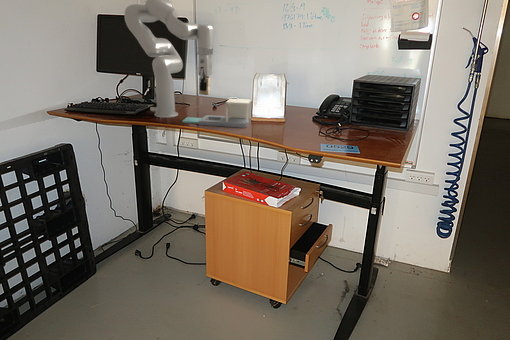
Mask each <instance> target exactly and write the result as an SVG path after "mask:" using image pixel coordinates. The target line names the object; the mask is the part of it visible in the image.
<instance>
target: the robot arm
mask: <svg viewBox="0 0 510 340" xmlns="http://www.w3.org/2000/svg"><path fill="white" fill-rule="evenodd" d="M144 3H145V4H137V3H135V4H130V5H127V7H125V9H124V21H125V24H126V27H127V28H128V30H129V31H130V32H131V33H132V35H133V36H134V37H135V39H136V41H137V42H138V43H139V45H140V47H141V48H142V49H143V51H144V52H145V54H146V55H147V56H148V57H150V58H153V60H152V62H151V65H152V72H153V74H154V80H155V93H156V94H155V95H156V106H155V107H154V106H150V109H149V110H150V111H151V112H154V117H156V118H163V119H165V118H175V117H177V116H179V113H178V112H177V111H176V107H175V106H176V104H175V103H176V102H175V83H174V80H173V77H172V75H171V74H176V73H179V72H181V71H182V70H183V68H184V63H183V60H182V58H181V56H180V54H179V53H178V51H177V50H176V49H175V47H174V45H173V44H172V43H171V41H169V40H168V39H167V38H164V37H156V36H155V35H154V34H153V32H152V31H151V29H150V28H149V27H148V26H147V25H145V23H155V22H157V21H160V22H162V23H163V24H164V25H165V26H166V28H167V30H168V31H169V32H170V33H171V34H173V35H174V36H175V37H177V38H179V39H181V40H184V41H187V40H195V41H196V52H197V53H196V54H197V55H198V63H197V66H198V67H197V68H198V69H197V73H198V76H199V78H200V90H202V91H206V90H207V83H206V77H208V78H210V76H211V75H212V74H213V60H212V59H213V58H212V57H213V56H214V52H213V51H214V49H213V48H214V27H213V25H210V24H201V23H196V22H195V23H193V22H192V23H191V22H183V21H182V20H180V19H178V11H177V9H175V8H173V3H172V1H170V0H146V1H145V2H144ZM203 77H205V79H204V78H203Z"/></svg>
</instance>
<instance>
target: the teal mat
mask: <svg viewBox="0 0 510 340" xmlns="http://www.w3.org/2000/svg"><path fill="white" fill-rule="evenodd" d="M202 118H203V117H191V116H186V118H184V119H183V120H182V121H181V124H182V123H185V124H198V125H199V120H200V119H202Z"/></svg>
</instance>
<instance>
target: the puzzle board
mask: <svg viewBox="0 0 510 340" xmlns="http://www.w3.org/2000/svg"><path fill="white" fill-rule="evenodd" d="M201 118H202V119H200V120H199V124H198V126H211V127H226V128H240V129H241V128H242V129H246V128H247V127H248V126H249V124H250V122H251V119H248V123H246V118H230V115H228V122H226V115H215V114H213V115H212V114H206V115H204V116H203V117H201Z"/></svg>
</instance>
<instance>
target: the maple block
mask: <svg viewBox="0 0 510 340" xmlns="http://www.w3.org/2000/svg"><path fill="white" fill-rule="evenodd" d="M203 78H204V79H205V77H203ZM198 82H199V83H198V94H199V95H203V96H209V95H210V94H211V77H209V78H208V77H206V83H207V90H206V91H202V90H200V77H198Z"/></svg>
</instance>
